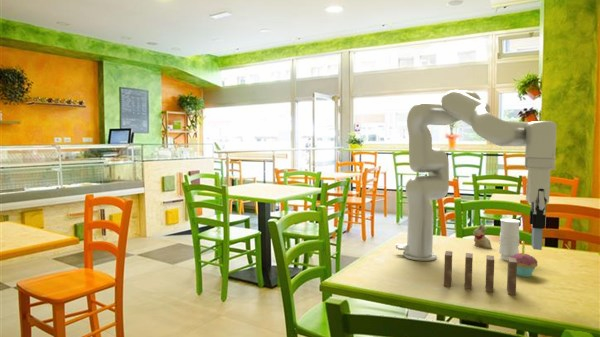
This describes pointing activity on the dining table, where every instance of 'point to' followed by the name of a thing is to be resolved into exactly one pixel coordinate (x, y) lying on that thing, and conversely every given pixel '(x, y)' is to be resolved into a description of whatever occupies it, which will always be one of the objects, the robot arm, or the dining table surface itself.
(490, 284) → the domino
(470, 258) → the domino
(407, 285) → the dining table surface
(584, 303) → the dining table surface
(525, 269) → the cupcake
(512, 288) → the domino
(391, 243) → the dining table surface
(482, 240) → the chocolate bunny
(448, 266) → the domino
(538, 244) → the domino
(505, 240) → the candle
